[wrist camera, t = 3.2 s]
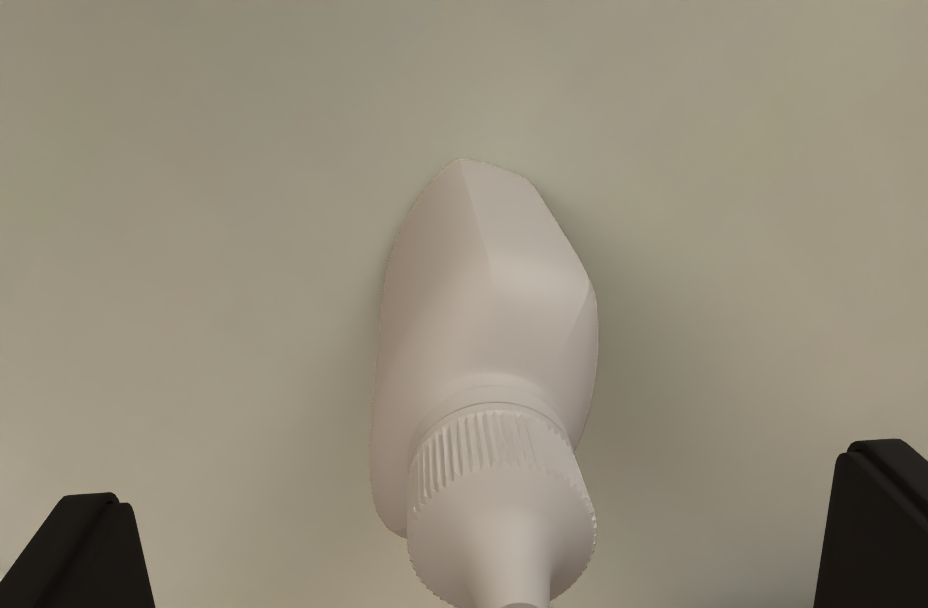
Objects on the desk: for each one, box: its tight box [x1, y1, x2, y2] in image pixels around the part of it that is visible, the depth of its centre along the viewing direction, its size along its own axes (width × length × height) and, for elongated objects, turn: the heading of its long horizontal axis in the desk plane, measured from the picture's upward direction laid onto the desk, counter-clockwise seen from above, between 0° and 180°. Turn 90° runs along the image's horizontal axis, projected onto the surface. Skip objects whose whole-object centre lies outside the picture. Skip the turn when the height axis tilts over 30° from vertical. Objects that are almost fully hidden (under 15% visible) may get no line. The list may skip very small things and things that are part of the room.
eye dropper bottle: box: [369, 159, 599, 608], centre depth 14 cm, size 4×6×12 cm
